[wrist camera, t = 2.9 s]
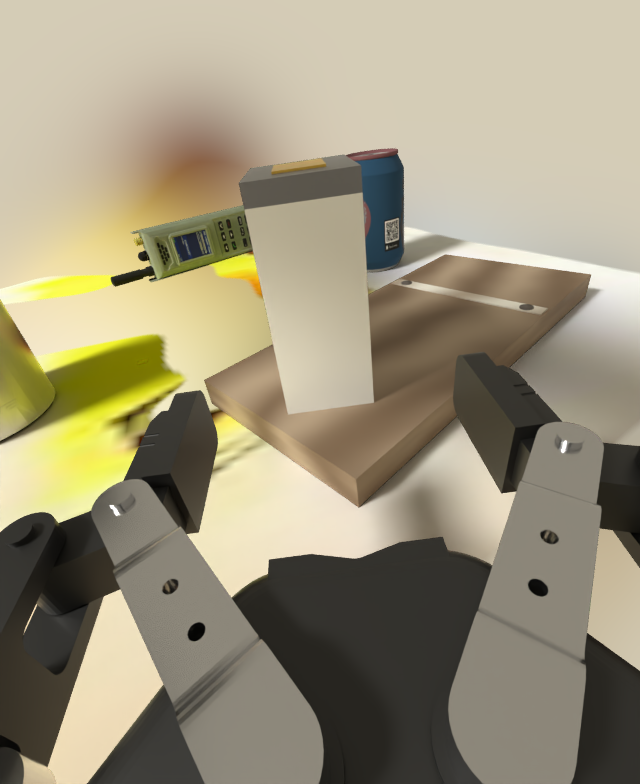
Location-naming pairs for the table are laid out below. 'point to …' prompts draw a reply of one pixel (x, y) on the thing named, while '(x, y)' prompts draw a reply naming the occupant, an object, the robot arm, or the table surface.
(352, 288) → the white tall block
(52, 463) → the table surface
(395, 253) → the soda can
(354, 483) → the subfloor panel
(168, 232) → the handheld radio
